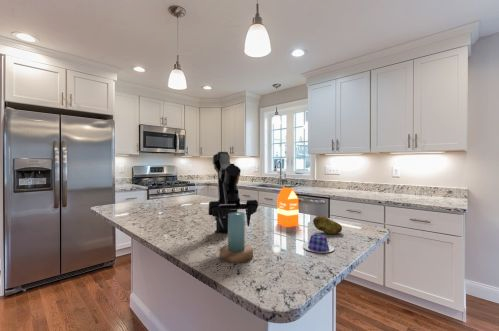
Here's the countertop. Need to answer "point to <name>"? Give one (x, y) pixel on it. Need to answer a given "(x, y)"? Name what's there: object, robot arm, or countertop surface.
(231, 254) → the base plate
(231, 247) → the teal tapered cylinder
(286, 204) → the orange juice
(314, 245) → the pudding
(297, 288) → the countertop surface
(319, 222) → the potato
